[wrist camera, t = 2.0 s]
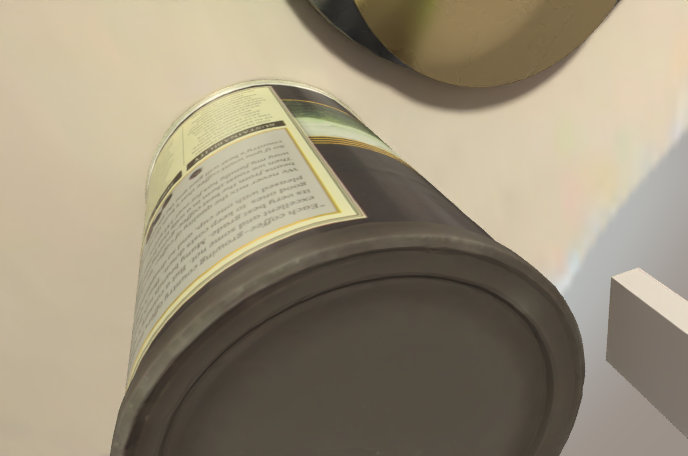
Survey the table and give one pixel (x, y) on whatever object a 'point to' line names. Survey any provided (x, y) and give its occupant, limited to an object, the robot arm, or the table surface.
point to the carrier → (468, 34)
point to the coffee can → (330, 300)
